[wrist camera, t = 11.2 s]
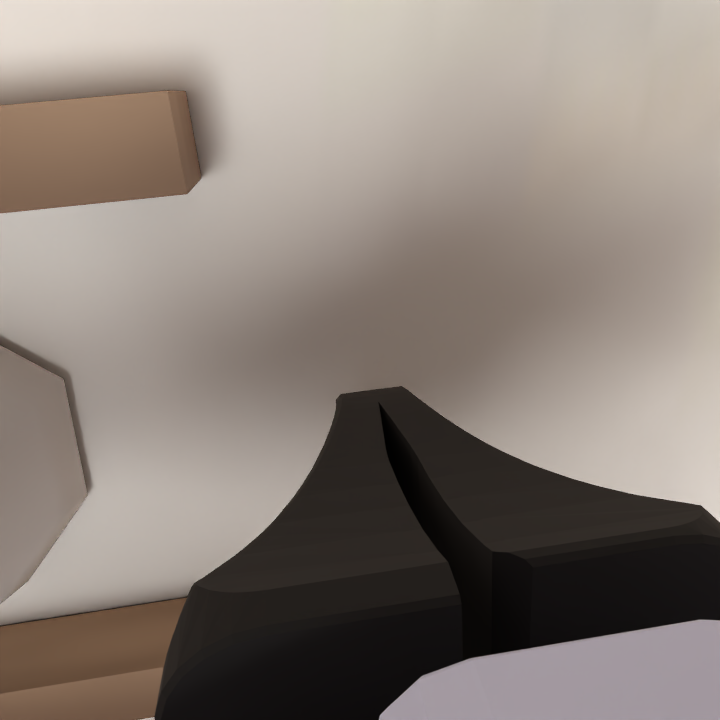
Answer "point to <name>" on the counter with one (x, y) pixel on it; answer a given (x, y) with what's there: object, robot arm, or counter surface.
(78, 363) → the counter surface
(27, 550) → the flask
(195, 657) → the robot arm
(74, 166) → the strip
